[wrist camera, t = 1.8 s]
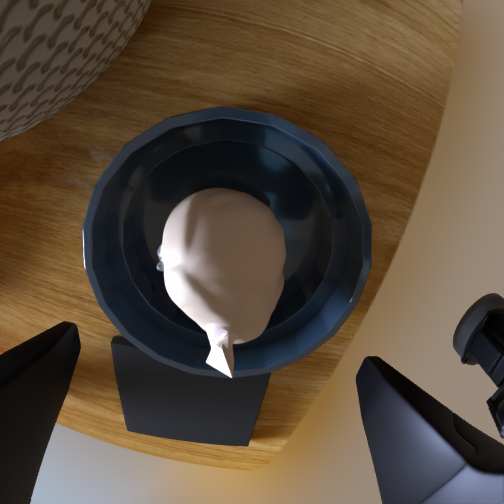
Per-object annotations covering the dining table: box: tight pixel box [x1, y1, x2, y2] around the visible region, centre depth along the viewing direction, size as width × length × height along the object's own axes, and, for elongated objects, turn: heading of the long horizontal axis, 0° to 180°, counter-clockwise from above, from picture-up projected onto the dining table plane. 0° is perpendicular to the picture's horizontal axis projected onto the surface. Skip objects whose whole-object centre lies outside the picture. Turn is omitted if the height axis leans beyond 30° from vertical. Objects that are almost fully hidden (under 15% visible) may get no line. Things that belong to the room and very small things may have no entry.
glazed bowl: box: [83, 106, 372, 378], centre depth 16 cm, size 14×14×4 cm
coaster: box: [111, 336, 271, 446], centre depth 23 cm, size 12×12×1 cm
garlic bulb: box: [157, 188, 286, 378], centre depth 14 cm, size 7×6×8 cm
